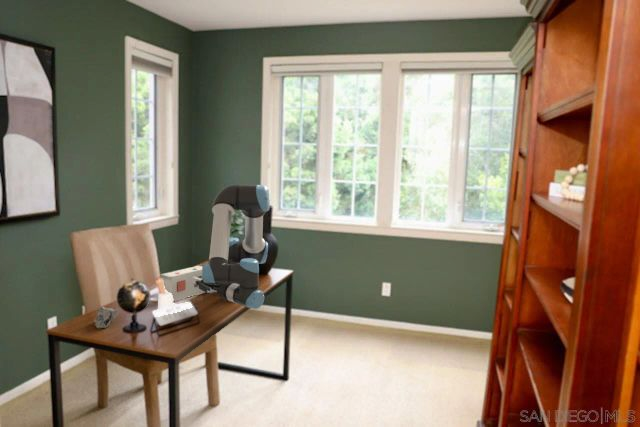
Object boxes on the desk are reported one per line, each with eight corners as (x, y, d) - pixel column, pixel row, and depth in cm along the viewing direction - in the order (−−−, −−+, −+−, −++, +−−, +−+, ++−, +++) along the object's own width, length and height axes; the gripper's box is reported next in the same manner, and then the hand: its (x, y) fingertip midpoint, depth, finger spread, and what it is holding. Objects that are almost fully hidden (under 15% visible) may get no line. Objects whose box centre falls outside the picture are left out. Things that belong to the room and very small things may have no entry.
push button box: (210, 285, 236) (210, 262, 234) (219, 288, 232) (220, 264, 230) (160, 299, 211) (160, 273, 210) (170, 303, 207) (170, 276, 206)
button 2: (177, 287, 216) (177, 279, 216) (185, 289, 213) (185, 281, 212) (170, 289, 213) (170, 280, 212) (178, 291, 210) (178, 283, 209)
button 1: (193, 282, 225) (193, 274, 224) (201, 284, 222) (201, 276, 221) (187, 284, 221) (187, 276, 221) (194, 286, 218) (194, 278, 218)
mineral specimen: (99, 336, 182) (122, 331, 180) (86, 328, 175) (110, 323, 174) (103, 313, 187) (126, 308, 186) (91, 305, 181) (114, 300, 180)
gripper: (219, 304, 188) (181, 291, 201) (242, 296, 198) (204, 284, 212) (220, 287, 187) (181, 275, 200) (242, 279, 197) (205, 268, 210)
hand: (193, 280), depth 206 cm, fingers closed
